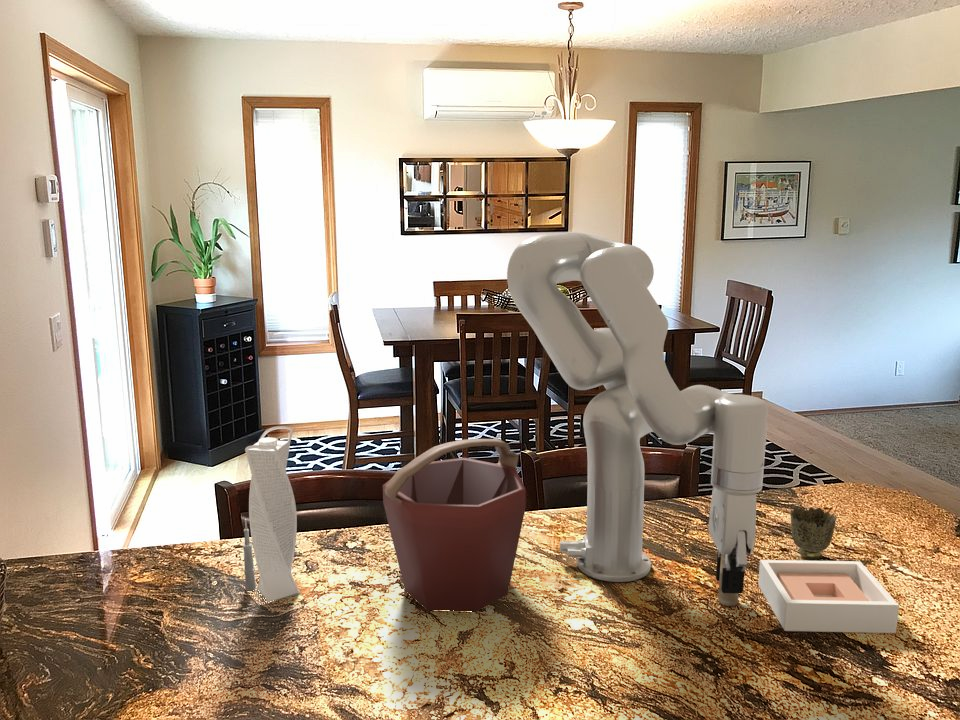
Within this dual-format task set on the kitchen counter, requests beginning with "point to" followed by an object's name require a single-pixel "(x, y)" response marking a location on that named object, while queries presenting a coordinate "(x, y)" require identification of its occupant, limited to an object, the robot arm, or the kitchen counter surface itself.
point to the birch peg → (726, 598)
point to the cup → (812, 531)
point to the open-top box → (829, 613)
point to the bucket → (456, 525)
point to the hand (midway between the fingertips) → (729, 585)
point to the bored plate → (820, 586)
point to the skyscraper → (270, 520)
